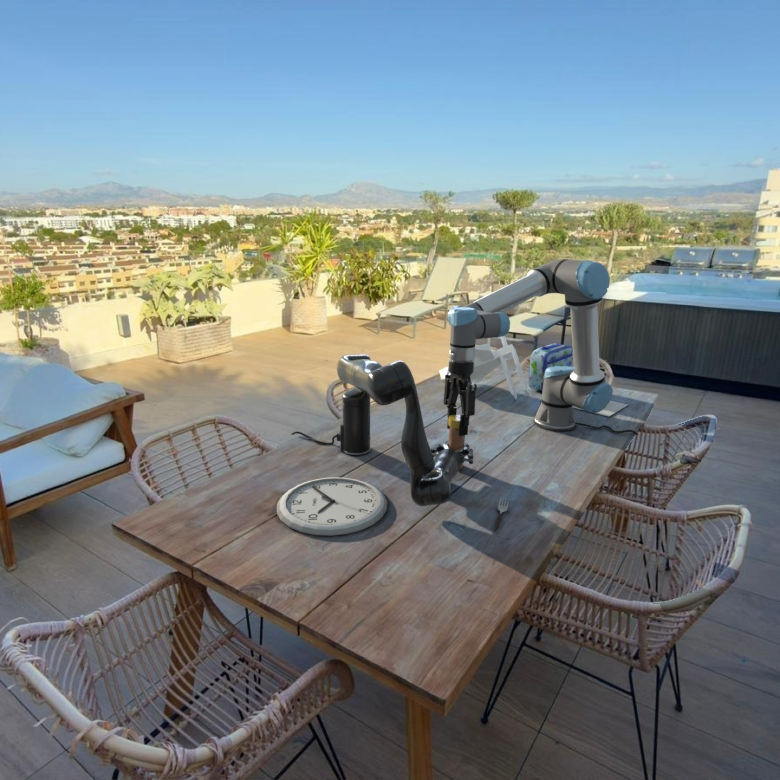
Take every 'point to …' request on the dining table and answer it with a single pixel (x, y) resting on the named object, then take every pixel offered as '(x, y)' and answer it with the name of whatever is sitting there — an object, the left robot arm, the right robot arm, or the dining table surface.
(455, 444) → the jar
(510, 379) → the white plastic object
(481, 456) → the dining table surface
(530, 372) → the lunch box
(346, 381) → the left robot arm
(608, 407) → the invitation card
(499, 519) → the fork
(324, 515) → the wall clock
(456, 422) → the lid
